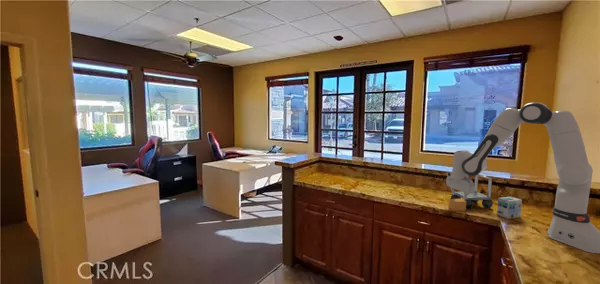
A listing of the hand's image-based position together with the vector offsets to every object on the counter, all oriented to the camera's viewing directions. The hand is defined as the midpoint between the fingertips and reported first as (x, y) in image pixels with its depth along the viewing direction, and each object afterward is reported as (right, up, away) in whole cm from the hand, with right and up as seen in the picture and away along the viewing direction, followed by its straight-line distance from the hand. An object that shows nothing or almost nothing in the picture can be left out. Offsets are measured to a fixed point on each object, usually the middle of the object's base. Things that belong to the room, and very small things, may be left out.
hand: (459, 196), depth 167 cm
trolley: (+13, -8, +9) cm, 17 cm away
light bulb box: (+24, -10, -9) cm, 28 cm away
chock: (0, -8, +1) cm, 8 cm away
